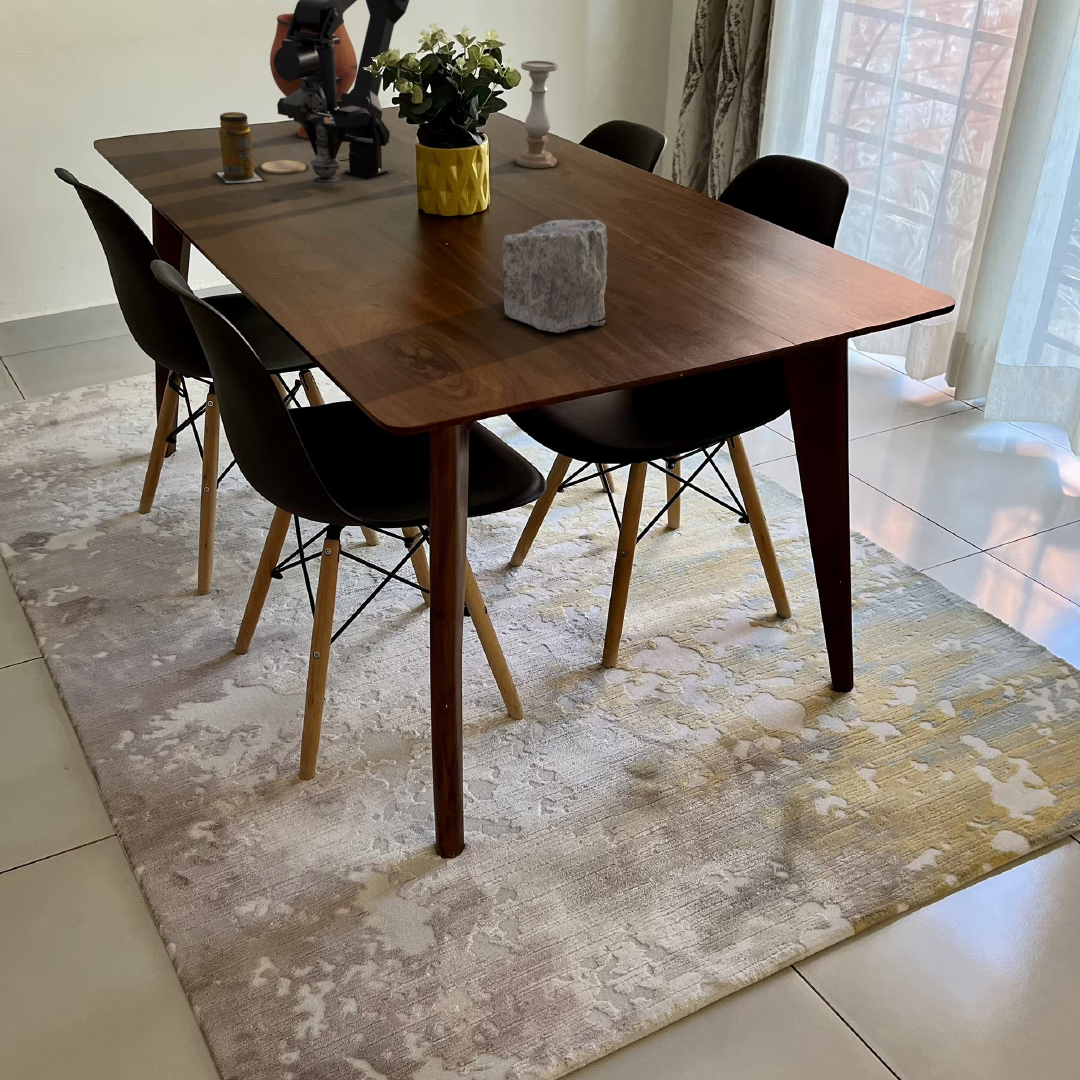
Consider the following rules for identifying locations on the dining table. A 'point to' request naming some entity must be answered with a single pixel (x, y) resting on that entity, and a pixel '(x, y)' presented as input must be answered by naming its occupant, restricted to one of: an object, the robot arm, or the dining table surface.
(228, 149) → the condiment
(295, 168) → the coaster
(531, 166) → the candle holder
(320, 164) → the grey carved stone piece
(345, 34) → the goblet
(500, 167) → the dining table surface
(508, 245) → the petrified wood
